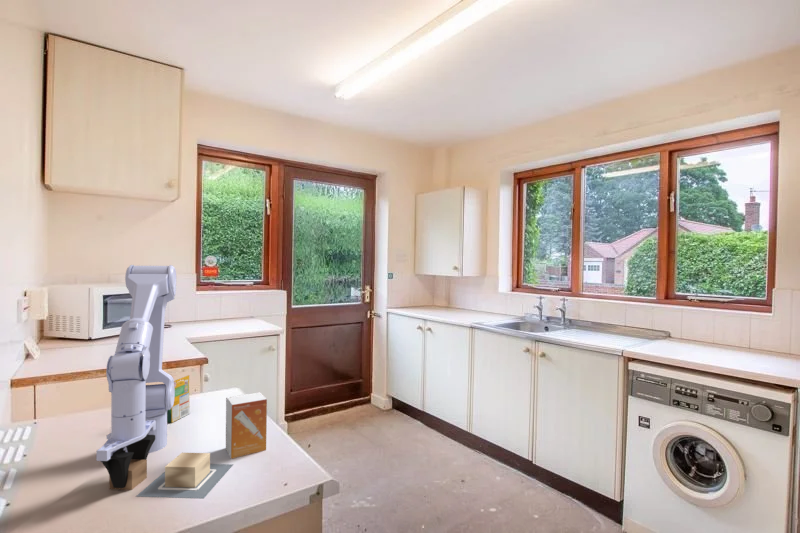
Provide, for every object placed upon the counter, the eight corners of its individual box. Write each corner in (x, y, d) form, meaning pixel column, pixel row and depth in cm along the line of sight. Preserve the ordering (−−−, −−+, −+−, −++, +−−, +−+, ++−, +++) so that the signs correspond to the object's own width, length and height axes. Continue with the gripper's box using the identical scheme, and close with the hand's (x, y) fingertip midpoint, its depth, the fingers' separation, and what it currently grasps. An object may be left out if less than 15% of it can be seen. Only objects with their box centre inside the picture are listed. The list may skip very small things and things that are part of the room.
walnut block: (109, 493, 81) (109, 470, 81) (125, 480, 85) (125, 459, 85) (132, 493, 81) (132, 470, 81) (146, 481, 85) (146, 459, 85)
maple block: (165, 486, 82) (165, 466, 82) (181, 471, 88) (181, 452, 88) (195, 487, 82) (195, 467, 82) (209, 472, 88) (210, 453, 88)
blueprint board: (135, 500, 78) (135, 495, 78) (175, 466, 91) (175, 462, 91) (203, 502, 78) (203, 497, 78) (233, 468, 91) (233, 463, 91)
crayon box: (181, 413, 123) (181, 374, 123) (190, 414, 123) (190, 374, 123) (162, 422, 116) (162, 381, 116) (171, 423, 115) (171, 381, 115)
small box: (230, 462, 94) (231, 404, 94) (225, 451, 99) (225, 396, 99) (267, 453, 98) (267, 398, 98) (259, 443, 103) (260, 391, 103)
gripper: (133, 399, 90) (133, 461, 90) (80, 426, 76) (80, 500, 76) (165, 400, 90) (165, 462, 90) (118, 427, 76) (117, 501, 76)
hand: (128, 480), depth 83 cm, fingers closed on walnut block, 4 cm apart
